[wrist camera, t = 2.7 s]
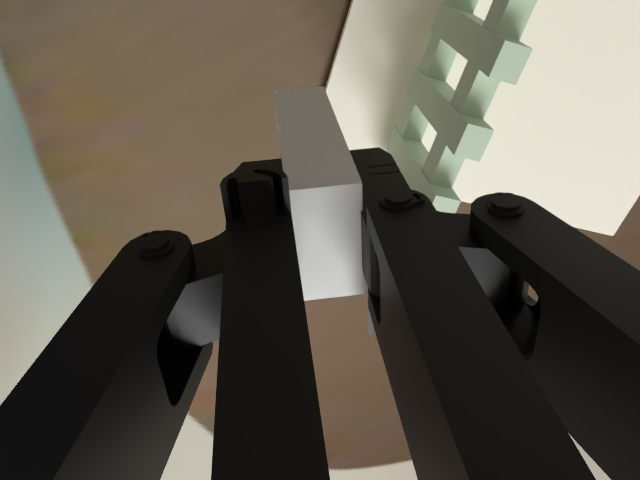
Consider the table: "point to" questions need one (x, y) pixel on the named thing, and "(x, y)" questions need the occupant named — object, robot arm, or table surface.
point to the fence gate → (458, 93)
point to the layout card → (514, 102)
